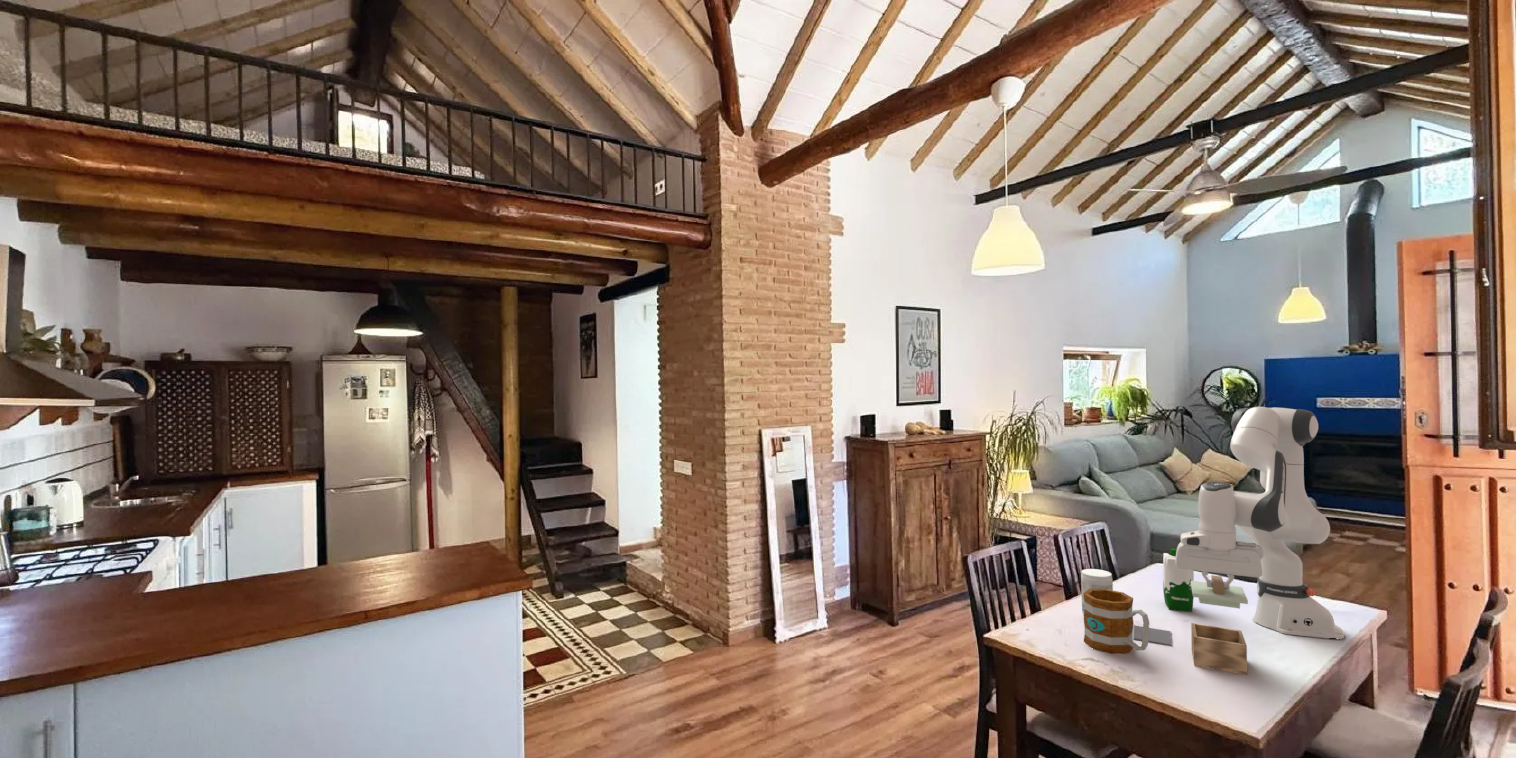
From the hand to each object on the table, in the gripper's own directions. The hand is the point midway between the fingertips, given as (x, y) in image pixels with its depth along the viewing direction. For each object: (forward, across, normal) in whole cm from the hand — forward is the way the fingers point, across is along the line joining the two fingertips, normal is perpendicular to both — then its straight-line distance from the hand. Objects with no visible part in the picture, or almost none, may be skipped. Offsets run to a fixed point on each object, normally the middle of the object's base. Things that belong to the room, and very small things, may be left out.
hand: (1217, 587), depth 185 cm
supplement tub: (+21, +32, -23) cm, 45 cm away
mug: (+21, +25, +4) cm, 33 cm away
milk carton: (+22, +8, -45) cm, 50 cm away
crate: (+21, 0, 0) cm, 21 cm away
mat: (+21, +16, -12) cm, 29 cm away
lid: (+2, 0, 0) cm, 2 cm away
